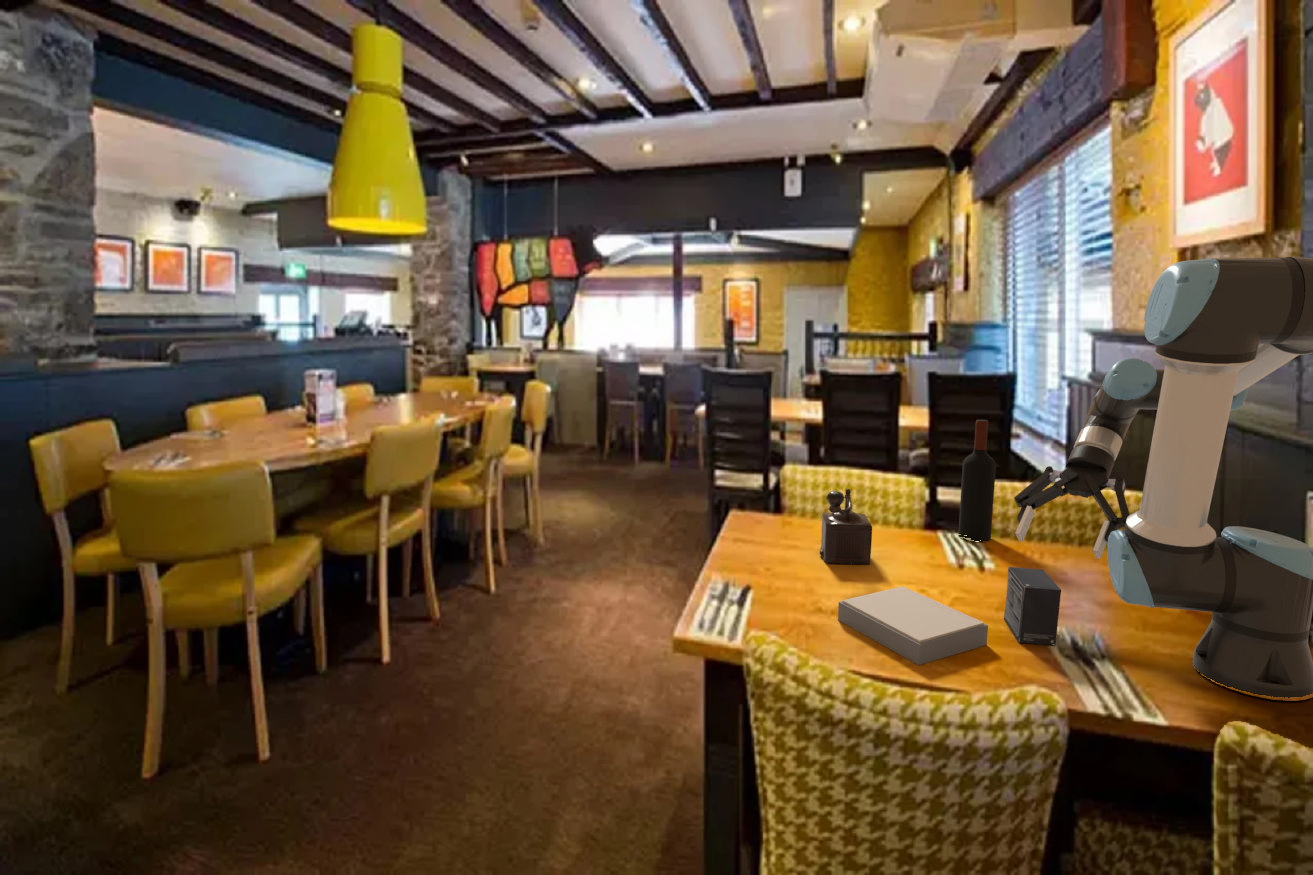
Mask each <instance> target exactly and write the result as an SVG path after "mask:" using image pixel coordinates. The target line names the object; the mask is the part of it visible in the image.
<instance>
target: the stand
mask: <svg viewBox="0 0 1313 875" xmlns="http://www.w3.org/2000/svg"><path fill="white" fill-rule="evenodd" d="M837 611H838V612H837V614H838V615H837V621H838V622H840V623H843V624H844V625H846V626H848V627H849V628H852V629H853V630H855V631H857V632H858V633H860V634H862V635H864V636H866V637H867V638H869V639H872V641H875V642H876V643H878V644H879V645H882V646H884V647H886V648H887V649H889V650H890V651H893V652H894V653H896V654H898V655H900V656H901V657H902V658H905V659H907V660H909V661H910V662H912V663H913V664H915V665H917V666H921V665H923V664H924V665H925V664H927V663H930V662H934V661H937V660H940V659H944V658H947V657H950V656H954V655H957V654H960V653H963V652H967V651H970V650H974V649H977V648H981V647H984V646H987V645H988V633H989V632H988V631H989V625H988V624H986V623H985V622H984V621H982V620H979V619H977V618H975V617H972V616H970V615H967V614H966V613H964V612H961V611H959V610H957V609H954V608H952V607H950V606H948V605H945V604H944V603H941V602H938V601H936V600H934V599H932V598H930V597H928V596H925V595H923V594H921V593H919V592H917V591H914V590H912V589H910V588H908V587H905V586H904V585H903V586H897V587H894V588H890V589H886V590H885V589H884V590H881V591H876V592H873V593H869V594H863V595H860V596H856V597H855V596H854V597H852V598H847V599H843V600H841V601H838V610H837Z"/></svg>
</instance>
